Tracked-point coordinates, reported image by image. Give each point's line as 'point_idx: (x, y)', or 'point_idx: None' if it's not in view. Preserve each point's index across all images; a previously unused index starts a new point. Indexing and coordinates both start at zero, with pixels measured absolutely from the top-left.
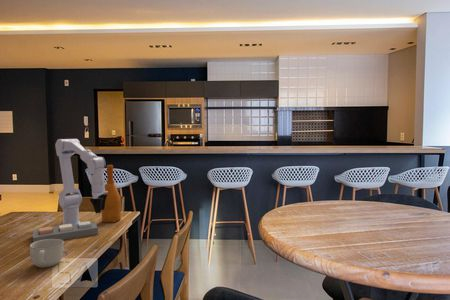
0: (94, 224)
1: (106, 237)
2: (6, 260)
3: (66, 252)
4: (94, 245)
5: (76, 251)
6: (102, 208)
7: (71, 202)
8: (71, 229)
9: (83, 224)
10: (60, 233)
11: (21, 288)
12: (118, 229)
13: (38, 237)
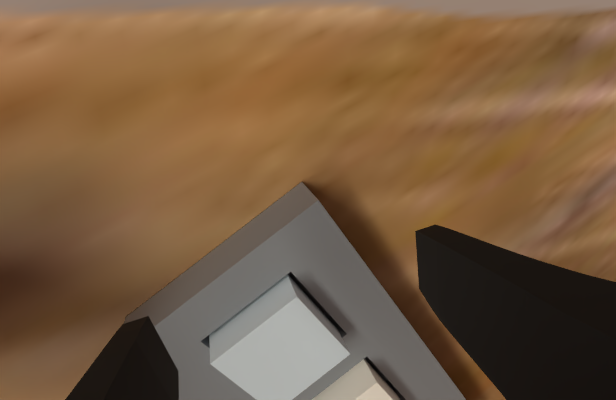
0: (216, 291)
1: (379, 66)
2: None
3: (592, 189)
4: (528, 81)
5: (593, 143)
6: (155, 354)
7: None
8: (369, 366)
9: (326, 339)
10: (440, 370)
11: None
12: (134, 43)
13: None
